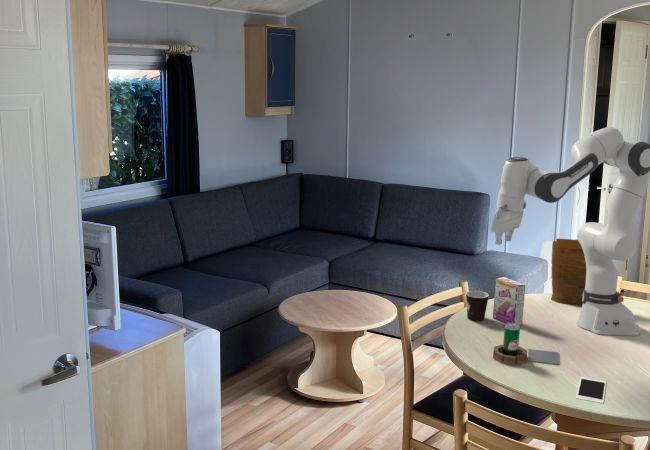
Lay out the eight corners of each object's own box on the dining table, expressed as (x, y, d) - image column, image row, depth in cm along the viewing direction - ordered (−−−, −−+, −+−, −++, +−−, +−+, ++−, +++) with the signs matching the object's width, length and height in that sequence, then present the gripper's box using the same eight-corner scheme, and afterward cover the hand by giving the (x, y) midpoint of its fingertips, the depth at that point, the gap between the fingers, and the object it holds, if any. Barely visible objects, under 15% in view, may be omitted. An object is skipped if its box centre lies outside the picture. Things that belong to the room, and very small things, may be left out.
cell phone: (575, 399, 217) (575, 397, 217) (580, 378, 232) (580, 376, 231) (603, 404, 214) (603, 402, 214) (606, 383, 229) (606, 381, 228)
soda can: (508, 362, 242) (511, 328, 239) (499, 356, 247) (501, 323, 244) (520, 359, 244) (523, 326, 241) (511, 354, 248) (513, 321, 246)
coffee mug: (487, 323, 276) (489, 298, 274) (464, 321, 278) (465, 297, 276) (486, 313, 287) (488, 289, 285) (464, 311, 289) (466, 287, 287)
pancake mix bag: (595, 309, 294) (602, 242, 287) (546, 302, 301) (552, 237, 294) (595, 304, 300) (603, 238, 293) (548, 297, 307) (554, 233, 300)
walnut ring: (526, 353, 249) (527, 346, 248) (526, 366, 239) (527, 359, 238) (494, 349, 252) (494, 343, 251) (492, 362, 242) (492, 355, 241)
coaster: (558, 353, 250) (558, 352, 249) (559, 365, 240) (559, 364, 240) (528, 349, 252) (528, 348, 252) (528, 361, 243) (528, 360, 243)
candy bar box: (491, 318, 282) (494, 278, 278) (500, 316, 284) (503, 276, 281) (513, 327, 273) (517, 286, 269) (522, 324, 275) (526, 284, 272)
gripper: (508, 208, 238) (501, 248, 241) (528, 203, 255) (521, 241, 258) (490, 204, 242) (483, 244, 245) (510, 199, 259) (504, 237, 261)
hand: (503, 242), depth 252 cm, fingers open, 8 cm apart
